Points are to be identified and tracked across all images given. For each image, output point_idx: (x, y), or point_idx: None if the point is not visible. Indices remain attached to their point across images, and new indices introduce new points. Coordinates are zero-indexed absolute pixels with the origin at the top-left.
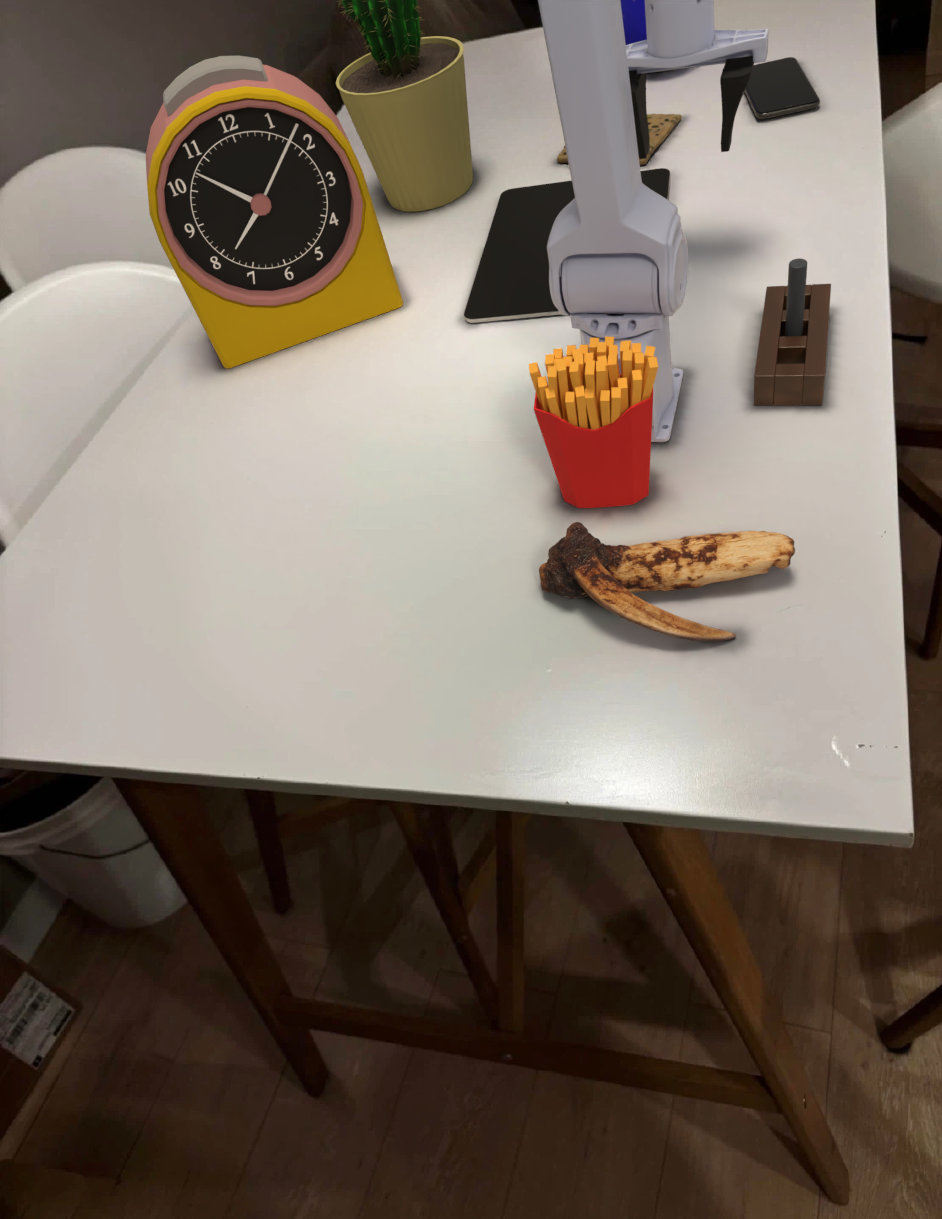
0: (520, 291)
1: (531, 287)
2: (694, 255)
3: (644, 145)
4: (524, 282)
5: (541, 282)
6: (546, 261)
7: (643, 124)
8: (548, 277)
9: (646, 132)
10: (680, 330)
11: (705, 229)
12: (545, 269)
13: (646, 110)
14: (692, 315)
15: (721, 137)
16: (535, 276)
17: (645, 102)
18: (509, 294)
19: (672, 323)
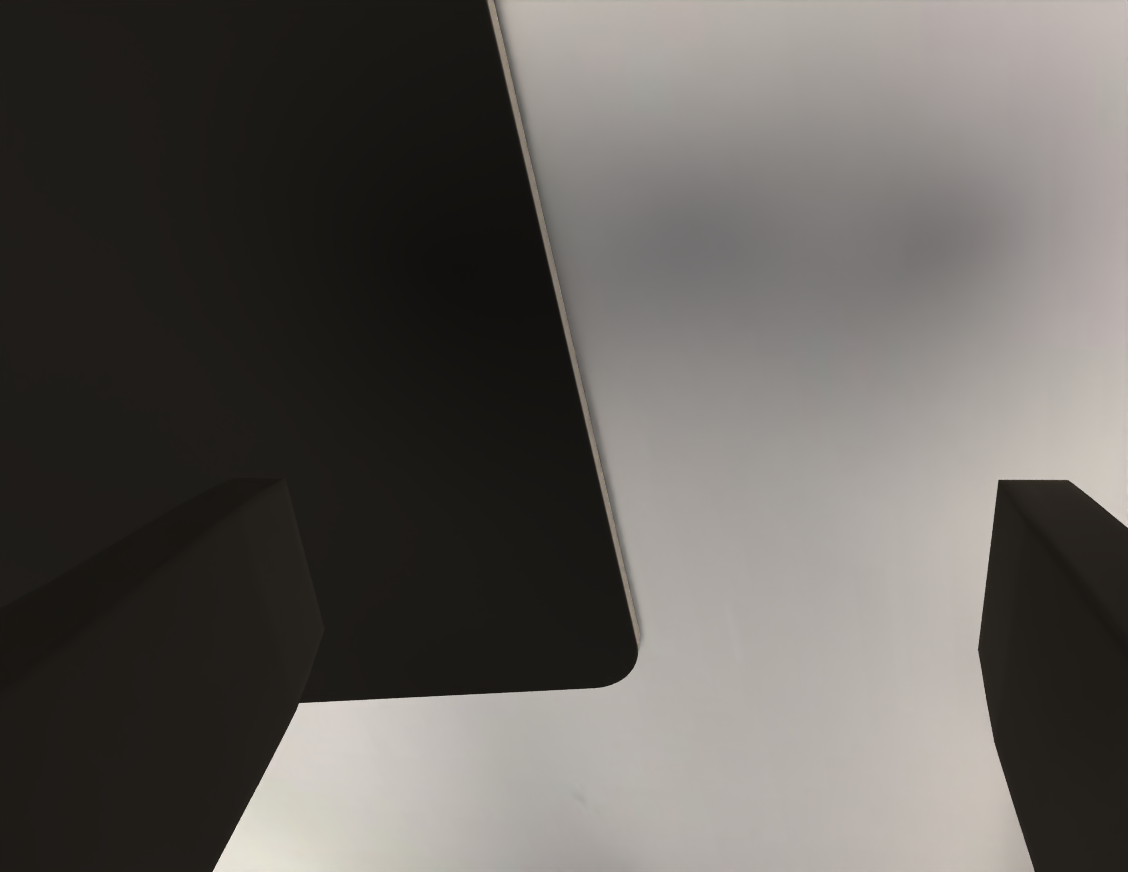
0: (33, 584)
1: (62, 563)
2: (731, 303)
3: (281, 727)
4: (10, 529)
5: (84, 533)
6: (7, 385)
7: (175, 781)
8: (93, 502)
9: (218, 646)
10: (763, 790)
11: (751, 21)
12: (42, 444)
13: (73, 639)
14: (796, 720)
15: (1013, 791)
16: (31, 495)
17: (17, 736)
18: (1, 599)
19: (725, 754)
